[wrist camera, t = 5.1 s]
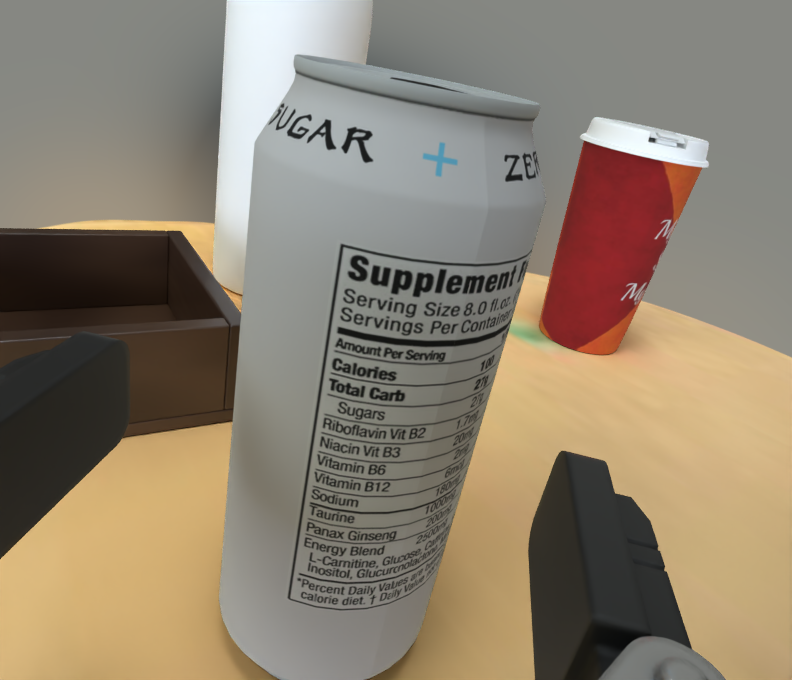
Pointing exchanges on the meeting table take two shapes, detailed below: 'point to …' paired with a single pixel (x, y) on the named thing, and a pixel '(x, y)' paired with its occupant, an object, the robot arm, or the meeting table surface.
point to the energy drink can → (366, 354)
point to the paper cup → (616, 229)
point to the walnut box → (126, 315)
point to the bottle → (268, 96)
